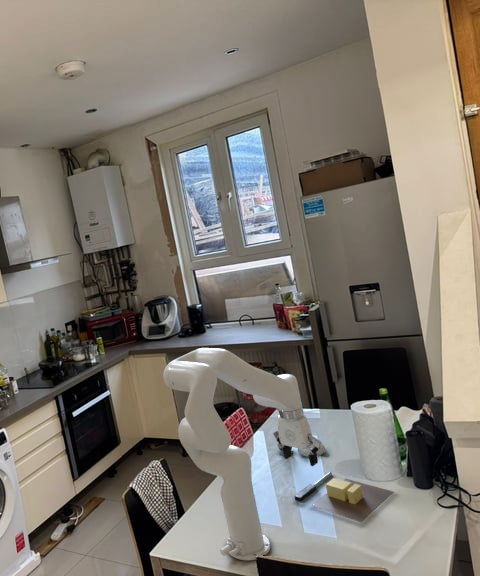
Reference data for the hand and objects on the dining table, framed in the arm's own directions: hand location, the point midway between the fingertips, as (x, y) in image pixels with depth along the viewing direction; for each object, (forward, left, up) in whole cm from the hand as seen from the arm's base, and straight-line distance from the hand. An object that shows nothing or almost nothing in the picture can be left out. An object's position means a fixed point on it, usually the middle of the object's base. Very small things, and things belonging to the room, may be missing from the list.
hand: (301, 460), depth 168 cm
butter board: (+5, -13, -13) cm, 19 cm away
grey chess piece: (+23, +24, -13) cm, 35 cm away
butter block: (+5, -9, -12) cm, 15 cm away
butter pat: (+5, -14, -12) cm, 19 cm away
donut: (+28, +16, -13) cm, 34 cm away
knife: (+4, 0, -13) cm, 13 cm away
